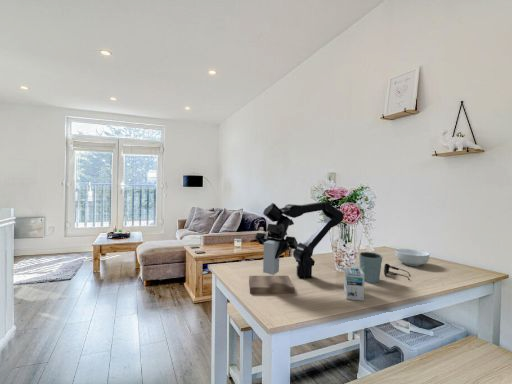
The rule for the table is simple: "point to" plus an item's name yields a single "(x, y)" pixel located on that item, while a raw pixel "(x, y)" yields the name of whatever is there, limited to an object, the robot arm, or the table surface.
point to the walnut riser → (270, 284)
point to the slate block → (270, 257)
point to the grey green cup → (370, 266)
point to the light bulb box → (354, 282)
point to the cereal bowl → (412, 256)
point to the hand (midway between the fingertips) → (269, 257)
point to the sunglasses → (386, 270)
